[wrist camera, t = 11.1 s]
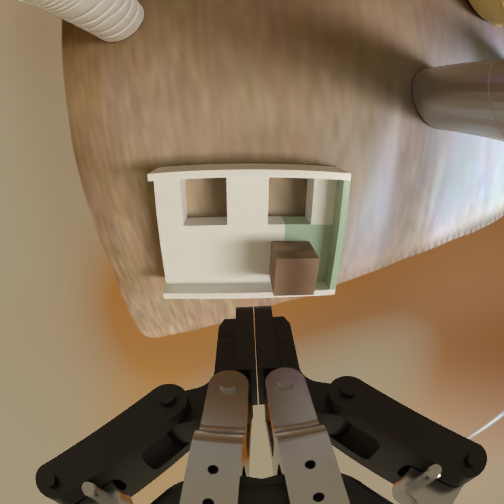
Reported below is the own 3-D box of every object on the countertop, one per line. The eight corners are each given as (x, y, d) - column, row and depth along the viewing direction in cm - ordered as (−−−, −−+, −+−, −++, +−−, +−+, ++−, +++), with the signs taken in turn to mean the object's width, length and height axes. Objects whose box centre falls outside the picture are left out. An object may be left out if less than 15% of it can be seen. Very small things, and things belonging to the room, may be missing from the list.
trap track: (335, 166, 31) (351, 173, 27) (323, 274, 37) (334, 294, 33) (160, 166, 30) (147, 173, 25) (171, 277, 36) (164, 298, 32)
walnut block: (309, 241, 32) (319, 258, 28) (304, 274, 34) (313, 294, 30) (271, 240, 32) (276, 258, 28) (269, 274, 34) (273, 295, 29)
